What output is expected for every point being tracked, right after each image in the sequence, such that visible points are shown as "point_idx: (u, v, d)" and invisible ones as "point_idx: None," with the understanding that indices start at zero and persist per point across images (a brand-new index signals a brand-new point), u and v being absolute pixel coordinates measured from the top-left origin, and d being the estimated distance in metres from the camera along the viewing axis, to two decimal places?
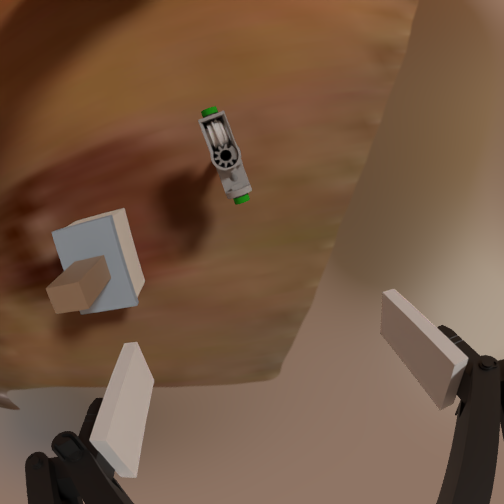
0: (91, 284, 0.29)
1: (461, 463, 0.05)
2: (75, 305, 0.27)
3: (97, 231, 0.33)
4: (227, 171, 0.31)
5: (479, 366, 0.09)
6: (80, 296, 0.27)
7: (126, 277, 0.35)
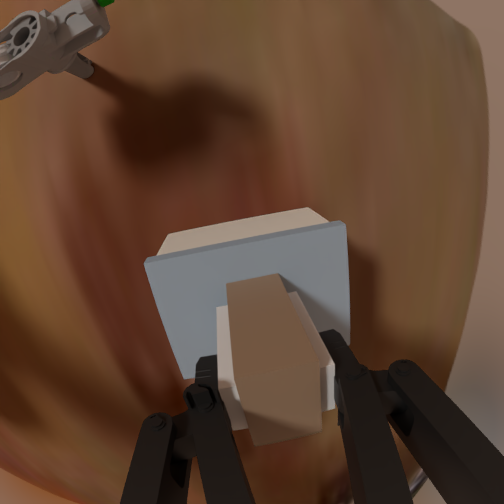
0: (263, 332, 0.12)
1: (362, 480, 0.06)
2: (304, 392, 0.11)
3: (175, 291, 0.17)
4: (51, 27, 0.10)
5: (346, 377, 0.10)
6: (280, 378, 0.10)
7: (279, 238, 0.17)
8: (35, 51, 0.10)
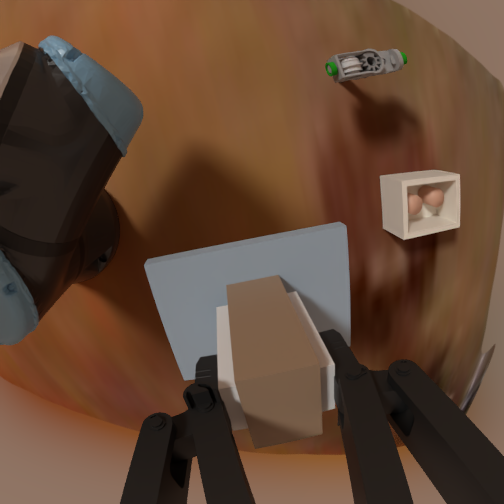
0: (264, 335, 0.12)
1: (362, 480, 0.06)
2: (305, 394, 0.11)
3: (176, 293, 0.17)
4: None
5: (346, 377, 0.10)
6: (280, 381, 0.10)
7: (279, 240, 0.17)
8: None
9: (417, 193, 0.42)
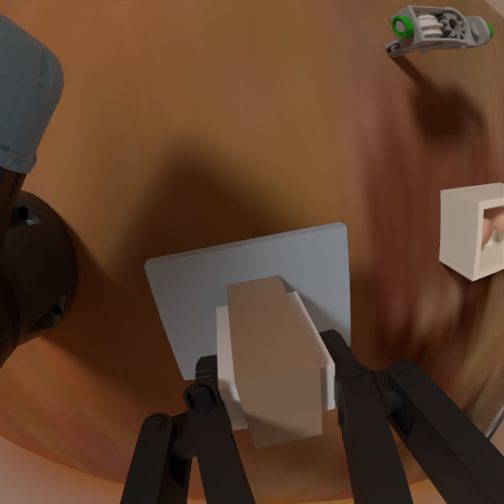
0: (264, 335, 0.12)
1: (362, 480, 0.06)
2: (305, 395, 0.11)
3: (176, 293, 0.17)
4: (464, 32, 0.14)
5: (346, 377, 0.10)
6: (280, 381, 0.10)
7: (280, 240, 0.17)
8: (461, 43, 0.14)
9: None
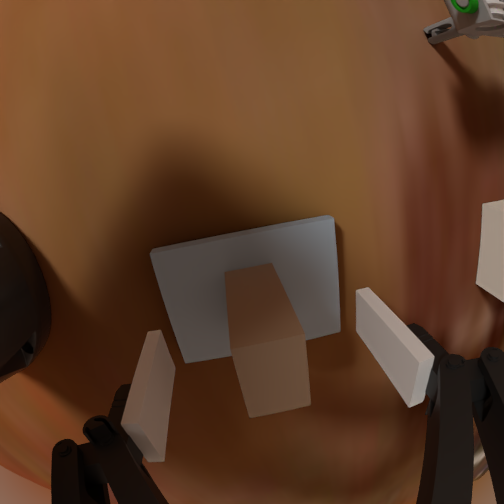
0: (257, 312, 0.14)
1: (436, 464, 0.06)
2: (293, 364, 0.12)
3: (178, 279, 0.19)
4: None
5: (446, 365, 0.09)
6: (270, 349, 0.12)
7: (273, 231, 0.19)
8: None
9: None
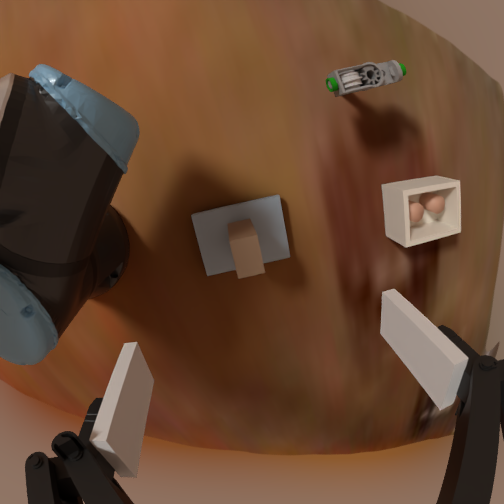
0: (240, 232, 0.35)
1: (461, 463, 0.05)
2: (254, 248, 0.33)
3: (205, 228, 0.40)
4: None
5: (479, 366, 0.09)
6: (244, 241, 0.33)
7: (249, 203, 0.40)
8: None
9: (419, 200, 0.43)
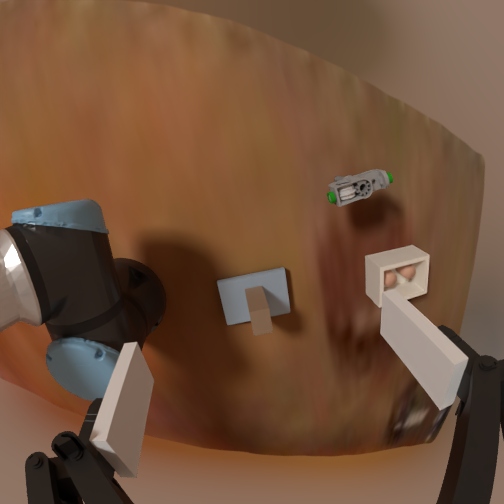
0: (256, 302, 0.48)
1: (461, 463, 0.05)
2: (266, 317, 0.46)
3: (227, 291, 0.53)
4: None
5: (479, 366, 0.09)
6: (259, 312, 0.46)
7: (262, 274, 0.52)
8: None
9: None
